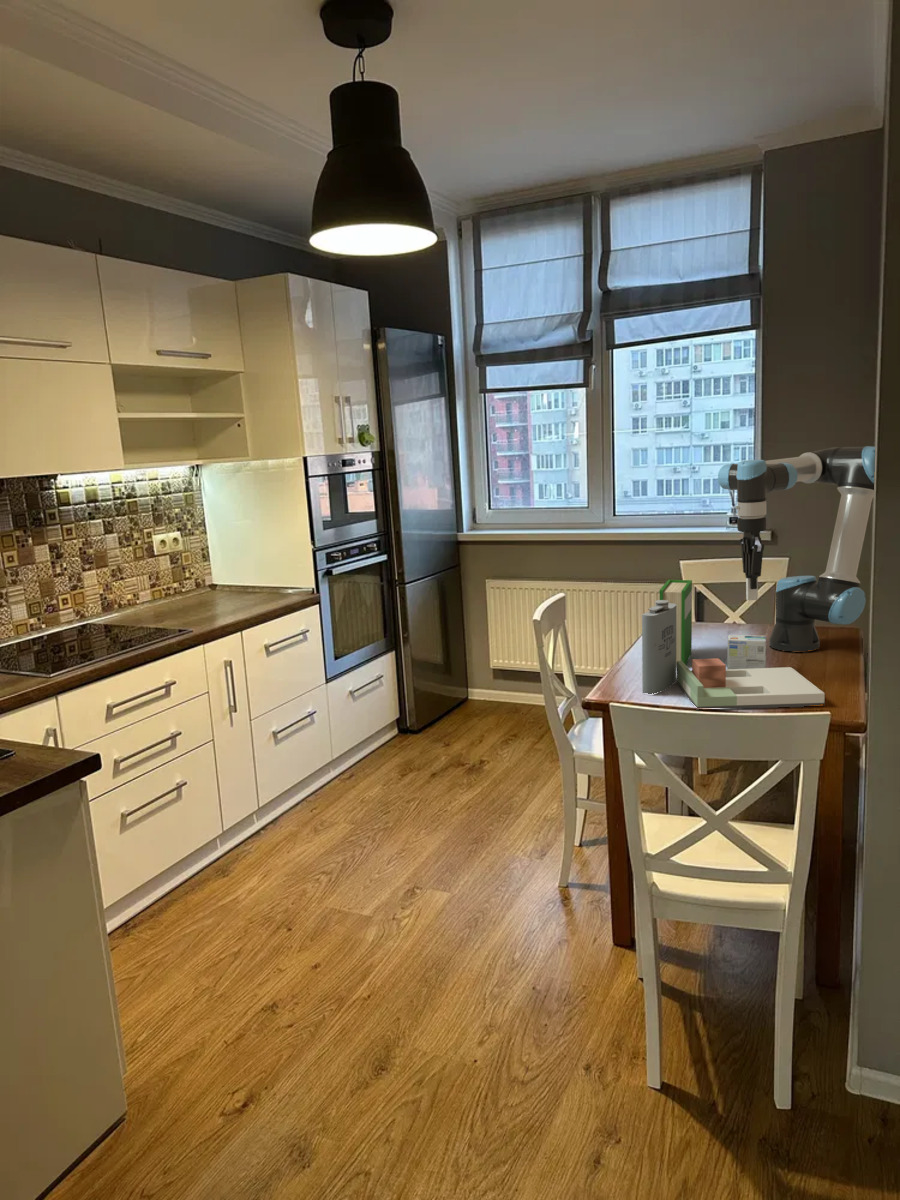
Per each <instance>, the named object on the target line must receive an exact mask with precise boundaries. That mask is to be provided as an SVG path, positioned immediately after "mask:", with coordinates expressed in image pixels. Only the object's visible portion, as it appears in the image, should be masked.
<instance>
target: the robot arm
mask: <svg viewBox="0 0 900 1200" xmlns="http://www.w3.org/2000/svg"><path fill="white" fill-rule="evenodd" d="M875 447H876V446H872V445H871V446H870V445H867V446H865V445H864V446H845V447H844V446H835V447H828V448H825V449H819V450H814V451H809V452H804V453H802V454H800V455H799V456H796V457H785V458H779V459H769V460H764V459H748V460H741V461H739V462H738V463H730V464H729V463H728V464H723V466H721V467H720V468H719V471H718V472H717V473H718V474H717V482H718V485H719V486H720V487H721V488H722V489H724V490H729V491H736V492H737V498H736V499H737V505H736V506H735V510H737V516H738V518H737V520H736V521H737V522H736V523H737V524H736V525H737V532H740V533H743V537H742V538H740V539H739V543H740V548H741V561H742V572H743V574H745V582H746V583H745V589H746V590H745V591H746V592H745V594H746V597H745V599H746V601H758V600H759V599H758V598H759V595H758V593H759V590H758V589H759V588H758V585H759V584H758V583H759V581H758V578H759V577H761V576H762V565H763V556H764V555H763V554H764V551H765V550H764V549H765V544H764V543H762V538H761V535H760V534H761V532H765V531H766V529H767V518H766V515H767V493H772V492H773V493H774V492H780V491H782V492H784V491H785V490H789V489H791V488H793V487H794V486H795V485H796V483H798V482H802V483H804V484H812V483H813V484H826V485H835V486H836V485H837V487H836V489H837V491H838V492H839V493H840V495H841V496H840V500H839V505H838V509H837V514H836V515H837V516H836V519H835V523H834V530H833V533H832V539H831V543H830V547H829V548H830V550H829V554H828V559H827V563H826V568H825V571H824V572H823V573H821V574H820V575H819V576H818V579H817V577H816V576H815V575H798V576H788V577H782V578H780V579H778V580H777V583H776V590H775V623H774V625H773V628H772V632H771V634H770V636H769V641H768V646H769V645H770V646H771V647H772V648H775V649H778V650H777V651H779V650H784V651H808V650H814V649H817V648H819V647H821V645H820V644H821V641H820V637H819V634H818V631H817V629H816V625H815V620H816V621H822V622H824V623H826V622H827V623H831V624H834V625H850V624H852V623H854V622H856V620H857V619H859V618H860V616H861V614H862V613H863V611H864V609H865V606H866V602H867V601H866V593H865V591H864V590H863V589H862V588H860V587H861V581H860V580H859V578H858V577H857V575H858V568H859V564H860V561H861V560H860V559H861V554H862V549H863V545H864V541H865V535H866V530H867V525H868V521H869V517H870V512H871V508H872V507H871V506H872V502H873V498H875V497H874V472H875ZM771 647H770V648H771ZM772 648H771V649H772ZM775 649H774V650H775ZM819 649H820V648H819ZM784 651H783V652H784Z"/></svg>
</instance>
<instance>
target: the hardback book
mask: <svg viewBox="0 0 900 1200" xmlns="http://www.w3.org/2000/svg"><path fill="white" fill-rule="evenodd" d="M659 600H667V601H669V603H673V604H676V666H677V661H683V662H684V664H685V665H686V666H687V664H688V662H689V659H690V657H691V655H692V653H693V652H692V646H693V645H692V641H693V639H692V635H693V633H692V631H693V629H692V628H693V627H692V625H693V623H692V622H693V620H692V619H693V609H692V608H693V580H692V579H688V580H687V579H686V580H685V579H667V581H665V583H664V584H663V585H662V586H661V588H660V589H659Z"/></svg>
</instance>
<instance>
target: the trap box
mask: <svg viewBox="0 0 900 1200" xmlns="http://www.w3.org/2000/svg"><path fill="white" fill-rule="evenodd" d="M676 684H677V685H678V686H679V688H680V690H681V691H682V692H683V694H685V696H686V698H687V699H688V698H689V699H688V700H689V702H690V703H691V702H692V703H693V704H694V705H695V706H696V707H697V708H758V709H779V708H778V707H790V708H805V707H804V706H810V705H820V704H824V705H825V695H826V693H825V692H824V691H823V690H821V688H820V689H819V687H817V686H816V685H814V684H813V683H812V682H811V681H809V680H808V679H807V678H805V677H804V676H803V675H802V674H801V673H799V672H798V671H797V670H796V669H794V668H792V666H791V667H789V666H785V667H766V668H753V669H728V668H726V687H715V688H703V685H702V684H701V683H700V681H699V680H698V679H697V678H696V677H695V675H694V674H693V673H692V670H691V669H690V668H689V667H688V666H687V664H686V665H685V664H684V662H683V661H677V665H676ZM692 703H691V704H692ZM693 704H692V705H693ZM694 705H693V706H694ZM696 711H700V710H699V709H696Z"/></svg>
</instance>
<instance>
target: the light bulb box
mask: <svg viewBox="0 0 900 1200" xmlns="http://www.w3.org/2000/svg"><path fill="white" fill-rule="evenodd" d="M753 668H767V640H766V635H758V634H757V635H753V634H751V635H750V634H749V635H748V634H728V636H727V669H753Z"/></svg>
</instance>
